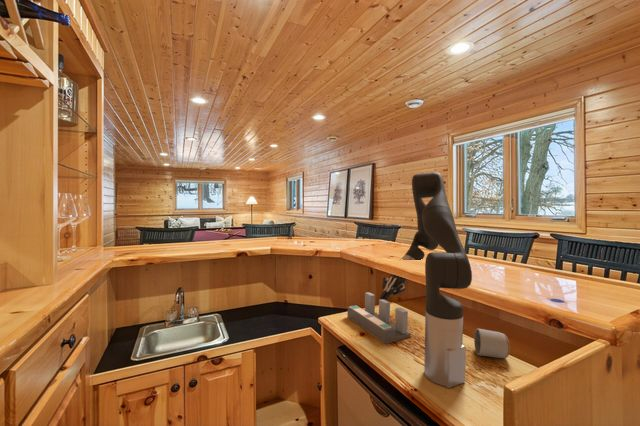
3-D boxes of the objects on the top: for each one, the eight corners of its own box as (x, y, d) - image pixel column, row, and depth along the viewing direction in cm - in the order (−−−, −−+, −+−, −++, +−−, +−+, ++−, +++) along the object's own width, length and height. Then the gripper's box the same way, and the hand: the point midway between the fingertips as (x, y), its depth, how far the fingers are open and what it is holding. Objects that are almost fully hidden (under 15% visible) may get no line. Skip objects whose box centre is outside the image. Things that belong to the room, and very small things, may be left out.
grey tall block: (407, 332, 101) (407, 311, 101) (402, 333, 100) (403, 312, 100) (399, 328, 105) (399, 307, 104) (395, 329, 104) (395, 308, 103)
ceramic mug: (511, 363, 85) (511, 337, 84) (479, 360, 87) (480, 334, 86) (498, 346, 95) (498, 323, 95) (470, 343, 97) (471, 320, 97)
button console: (410, 337, 101) (410, 323, 101) (384, 343, 96) (384, 329, 96) (370, 312, 123) (370, 301, 122) (347, 317, 118) (347, 305, 118)
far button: (374, 313, 118) (374, 295, 118) (370, 314, 117) (370, 295, 117) (368, 309, 122) (369, 292, 121) (364, 310, 121) (365, 292, 121)
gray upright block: (389, 322, 110) (390, 302, 109) (385, 323, 109) (385, 303, 108) (383, 318, 113) (383, 299, 113) (378, 319, 112) (379, 299, 112)
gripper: (390, 259, 131) (367, 290, 127) (411, 265, 119) (386, 299, 115) (399, 270, 134) (377, 300, 129) (421, 277, 122) (397, 310, 117)
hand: (381, 300), depth 122 cm, fingers closed
